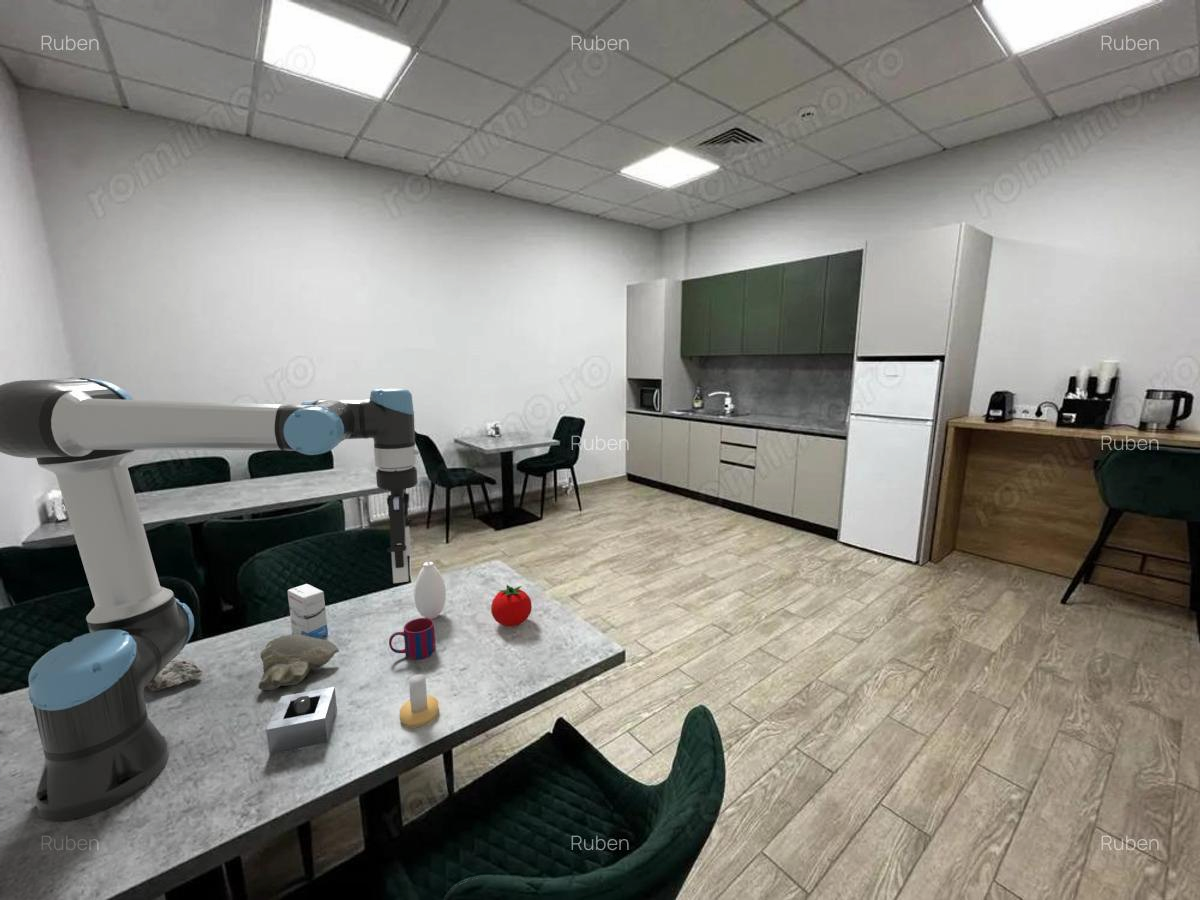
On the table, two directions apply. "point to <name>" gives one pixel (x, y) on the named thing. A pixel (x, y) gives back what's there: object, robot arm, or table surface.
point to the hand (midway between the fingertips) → (402, 567)
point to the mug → (417, 639)
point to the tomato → (511, 606)
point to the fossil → (293, 659)
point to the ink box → (307, 611)
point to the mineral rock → (174, 675)
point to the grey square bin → (302, 722)
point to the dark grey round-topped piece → (302, 706)
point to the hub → (418, 704)
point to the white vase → (429, 591)
